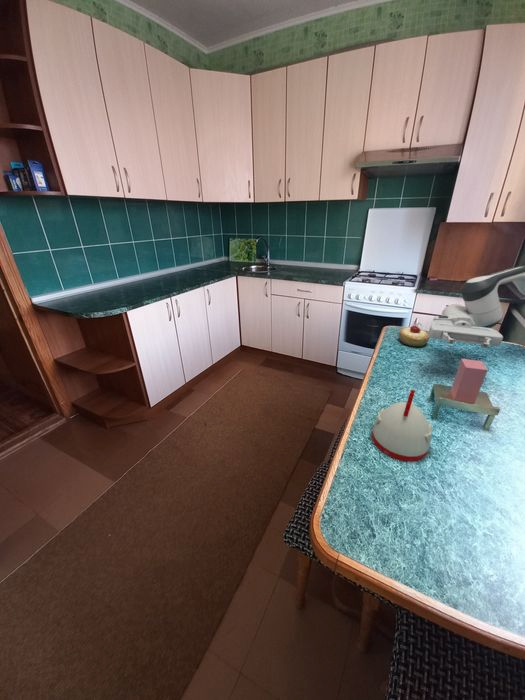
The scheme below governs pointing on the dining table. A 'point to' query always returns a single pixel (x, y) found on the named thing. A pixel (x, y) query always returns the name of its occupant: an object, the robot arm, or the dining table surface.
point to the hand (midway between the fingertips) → (468, 343)
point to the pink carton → (468, 380)
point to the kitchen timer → (402, 431)
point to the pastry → (413, 336)
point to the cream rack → (463, 403)
